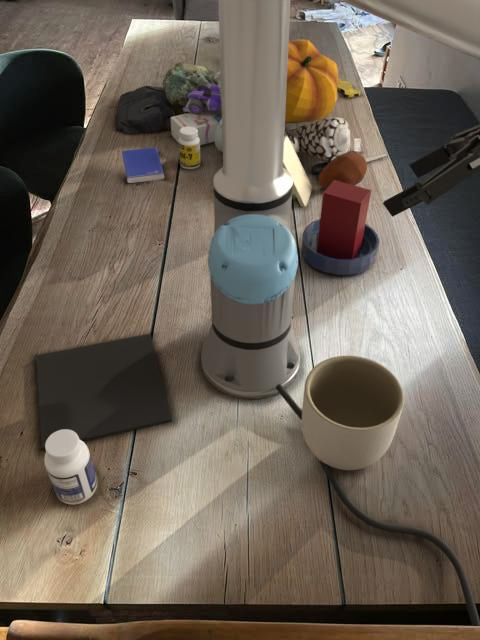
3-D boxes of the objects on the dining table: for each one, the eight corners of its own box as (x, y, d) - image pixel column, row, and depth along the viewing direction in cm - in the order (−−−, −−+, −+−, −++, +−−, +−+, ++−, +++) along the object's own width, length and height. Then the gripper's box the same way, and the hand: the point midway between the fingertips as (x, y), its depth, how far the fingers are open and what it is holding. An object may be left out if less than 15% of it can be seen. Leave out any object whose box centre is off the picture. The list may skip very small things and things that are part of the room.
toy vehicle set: (361, 151, 144) (359, 155, 146) (361, 137, 145) (360, 141, 147) (310, 149, 145) (309, 153, 146) (310, 135, 146) (310, 139, 147)
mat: (172, 421, 87) (172, 418, 86) (42, 450, 83) (41, 448, 83) (150, 336, 99) (150, 333, 99) (36, 358, 96) (35, 355, 95)
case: (326, 239, 118) (334, 179, 109) (360, 250, 116) (371, 189, 107) (316, 253, 115) (323, 192, 106) (351, 264, 112) (361, 203, 103)
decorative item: (346, 98, 168) (362, 95, 169) (346, 95, 167) (362, 92, 169) (327, 82, 175) (343, 80, 177) (328, 79, 175) (343, 77, 176)
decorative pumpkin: (339, 130, 149) (369, 85, 137) (261, 139, 140) (286, 91, 127) (306, 67, 155) (332, 18, 142) (229, 71, 146) (250, 19, 133)
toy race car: (195, 88, 153) (189, 67, 147) (251, 95, 149) (247, 73, 143) (181, 116, 149) (175, 95, 143) (238, 123, 145) (234, 102, 139)
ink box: (228, 119, 147) (184, 131, 142) (229, 138, 150) (185, 150, 146) (212, 105, 152) (168, 117, 148) (213, 124, 155) (170, 136, 151)
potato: (312, 166, 128) (342, 183, 125) (347, 134, 131) (378, 150, 128) (314, 191, 135) (343, 208, 131) (348, 160, 138) (376, 176, 134)
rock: (215, 82, 150) (206, 120, 157) (230, 62, 163) (222, 98, 170) (160, 63, 150) (153, 101, 157) (180, 44, 163) (173, 81, 170)
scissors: (376, 149, 146) (306, 169, 139) (377, 146, 146) (307, 166, 139) (394, 161, 142) (323, 183, 135) (395, 158, 141) (324, 179, 134)
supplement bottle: (176, 166, 140) (173, 132, 134) (186, 157, 143) (184, 123, 137) (194, 171, 138) (192, 136, 133) (204, 162, 141) (203, 128, 136)
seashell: (297, 132, 131) (314, 175, 134) (349, 106, 132) (365, 150, 135) (277, 135, 147) (292, 173, 150) (323, 112, 148) (338, 151, 151)
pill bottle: (79, 462, 82) (65, 416, 75) (106, 484, 79) (94, 439, 73) (46, 489, 79) (29, 444, 72) (73, 513, 76) (58, 469, 70)
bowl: (388, 270, 112) (392, 253, 109) (317, 284, 109) (319, 266, 107) (357, 228, 122) (359, 211, 119) (290, 240, 119) (292, 222, 116)
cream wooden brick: (246, 165, 124) (275, 218, 130) (278, 153, 120) (306, 207, 127) (256, 146, 130) (283, 197, 136) (287, 134, 126) (313, 186, 133)
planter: (317, 491, 79) (325, 440, 71) (286, 417, 87) (291, 365, 80) (405, 469, 81) (422, 418, 74) (366, 399, 90) (378, 347, 82)
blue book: (164, 172, 135) (156, 146, 144) (126, 177, 133) (121, 150, 142) (164, 179, 136) (157, 153, 145) (127, 183, 134) (122, 156, 143)
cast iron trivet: (174, 94, 169) (173, 77, 165) (179, 131, 153) (178, 113, 150) (117, 97, 167) (115, 79, 164) (117, 134, 151) (114, 116, 148)
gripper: (522, 184, 78) (389, 246, 94) (552, 111, 94) (435, 174, 110) (491, 136, 76) (361, 207, 92) (528, 69, 92) (412, 139, 108)
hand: (401, 189), depth 101 cm, fingers open, 13 cm apart
